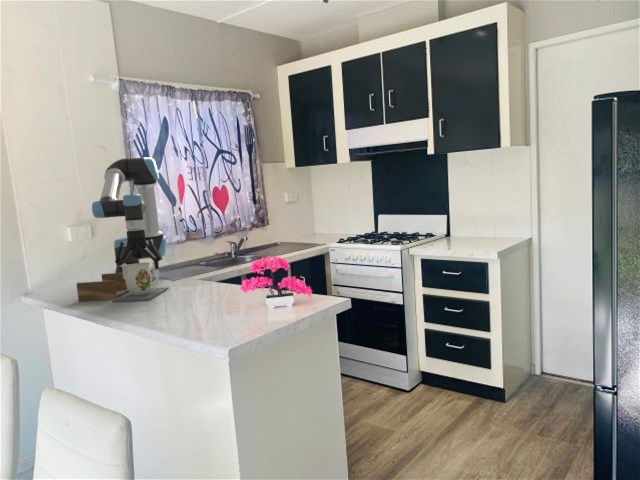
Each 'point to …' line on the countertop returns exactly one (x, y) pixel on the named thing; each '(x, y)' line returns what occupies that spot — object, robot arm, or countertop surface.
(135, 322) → the countertop surface
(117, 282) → the walnut cradle
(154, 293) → the rubber mat
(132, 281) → the pitcher
